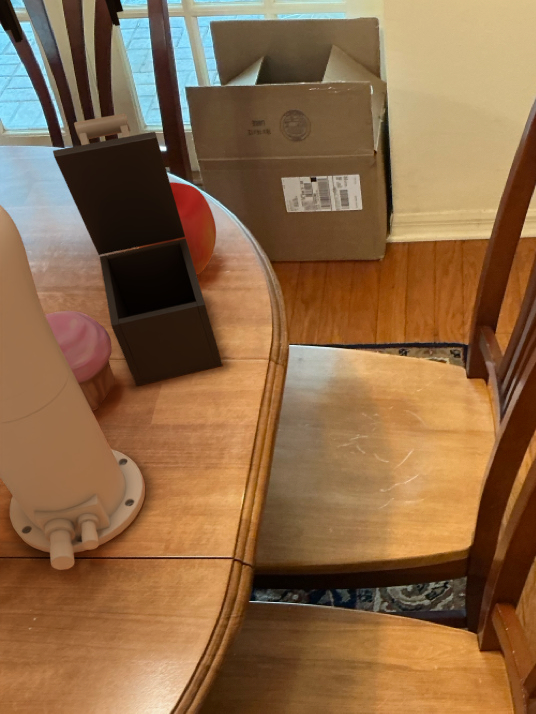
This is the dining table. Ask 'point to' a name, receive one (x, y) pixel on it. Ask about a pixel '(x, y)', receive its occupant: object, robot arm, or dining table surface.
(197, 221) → the apple
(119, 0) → the robot arm
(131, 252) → the open square bin
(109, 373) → the cupcake
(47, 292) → the dining table surface
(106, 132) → the bin lid
